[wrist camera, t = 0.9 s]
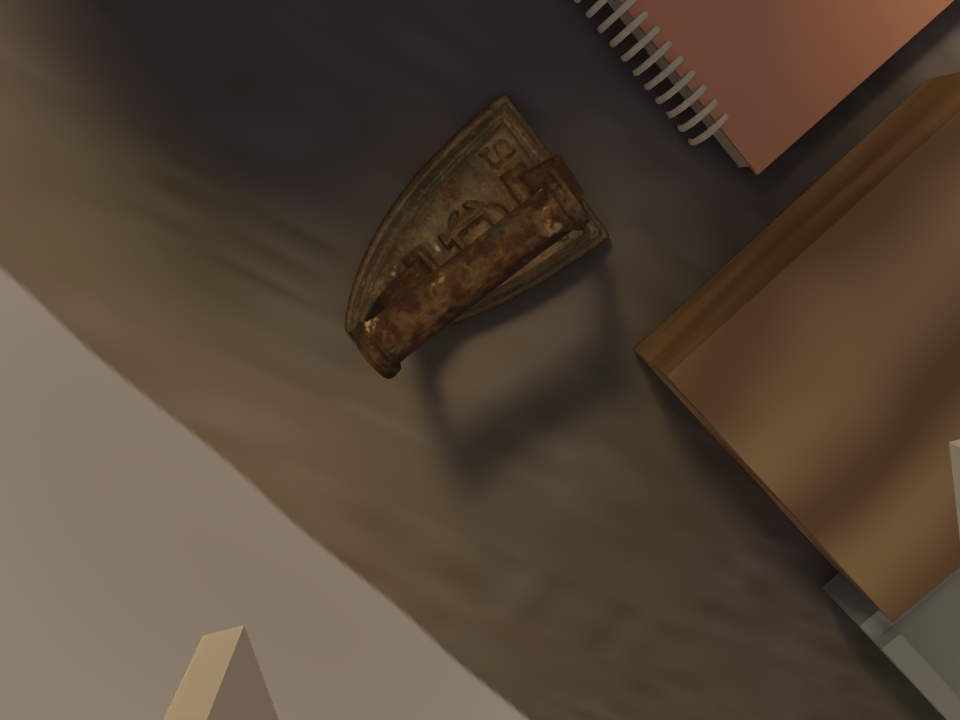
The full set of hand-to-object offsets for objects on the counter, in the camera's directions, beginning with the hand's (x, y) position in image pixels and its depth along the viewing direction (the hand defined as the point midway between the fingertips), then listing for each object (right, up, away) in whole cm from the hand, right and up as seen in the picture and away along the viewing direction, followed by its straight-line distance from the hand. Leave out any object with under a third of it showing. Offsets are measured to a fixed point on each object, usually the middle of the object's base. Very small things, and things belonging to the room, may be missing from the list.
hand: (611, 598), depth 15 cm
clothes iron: (-4, +9, +19) cm, 21 cm away
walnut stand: (+15, +5, +20) cm, 26 cm away
